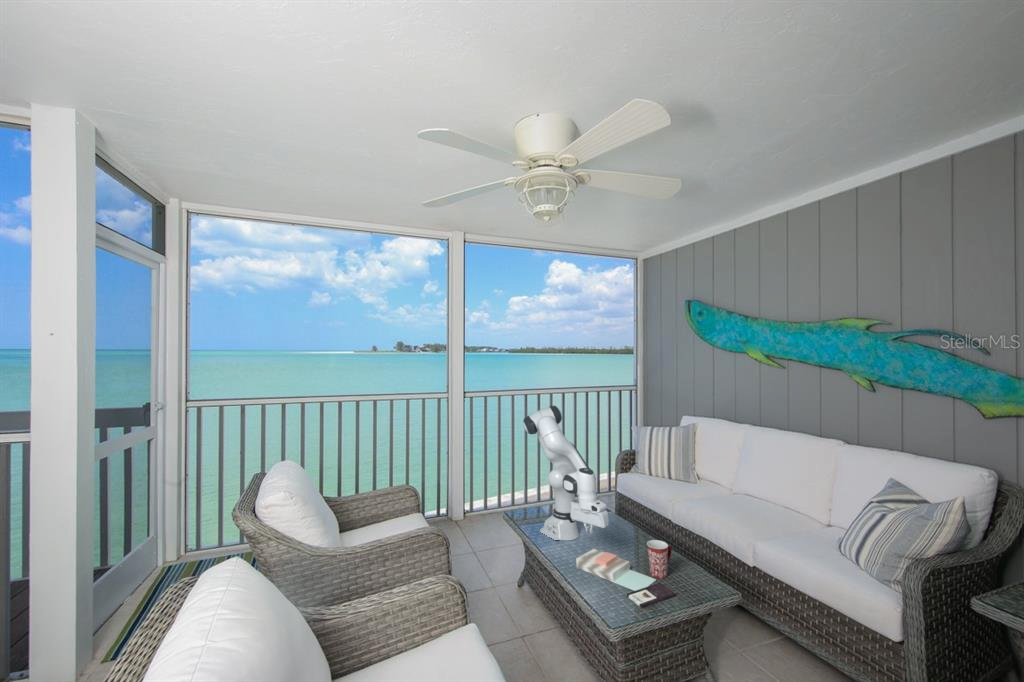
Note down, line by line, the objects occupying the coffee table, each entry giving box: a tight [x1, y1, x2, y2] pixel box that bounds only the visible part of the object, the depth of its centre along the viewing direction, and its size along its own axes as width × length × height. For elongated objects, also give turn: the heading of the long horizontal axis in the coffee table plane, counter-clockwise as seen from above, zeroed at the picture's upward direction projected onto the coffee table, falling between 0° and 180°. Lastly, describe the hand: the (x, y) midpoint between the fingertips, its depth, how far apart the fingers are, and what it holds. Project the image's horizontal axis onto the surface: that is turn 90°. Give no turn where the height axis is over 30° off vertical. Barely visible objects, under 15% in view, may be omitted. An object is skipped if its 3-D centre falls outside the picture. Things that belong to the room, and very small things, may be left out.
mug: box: [646, 539, 673, 579], centre depth 198 cm, size 13×9×14 cm
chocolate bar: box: [626, 582, 677, 609], centre depth 179 cm, size 9×1×18 cm
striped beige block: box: [575, 548, 631, 582], centre depth 203 cm, size 20×14×4 cm
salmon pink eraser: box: [595, 551, 618, 567], centre depth 202 cm, size 6×9×2 cm, turn 135°
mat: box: [610, 569, 657, 591], centre depth 192 cm, size 14×14×1 cm
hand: (589, 532), depth 208 cm, fingers closed
